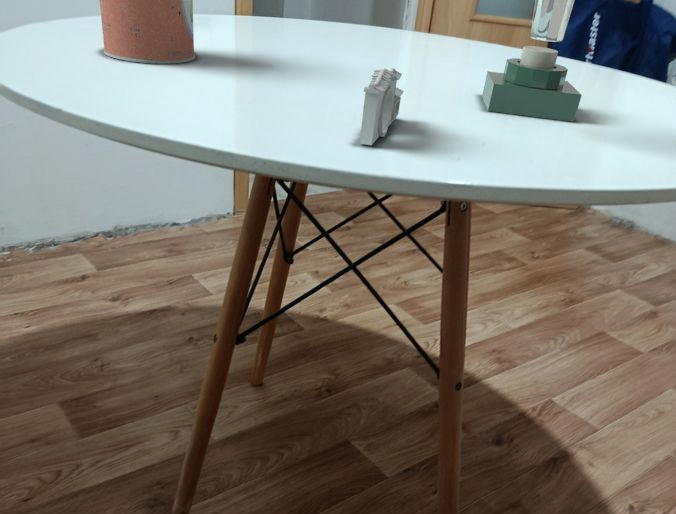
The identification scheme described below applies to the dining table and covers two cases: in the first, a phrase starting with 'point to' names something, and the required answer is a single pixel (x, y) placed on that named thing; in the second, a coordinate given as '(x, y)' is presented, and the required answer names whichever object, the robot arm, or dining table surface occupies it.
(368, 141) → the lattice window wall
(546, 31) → the milkshake
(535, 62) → the white short cylinder
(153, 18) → the canned food
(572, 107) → the dispenser
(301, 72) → the dining table surface
